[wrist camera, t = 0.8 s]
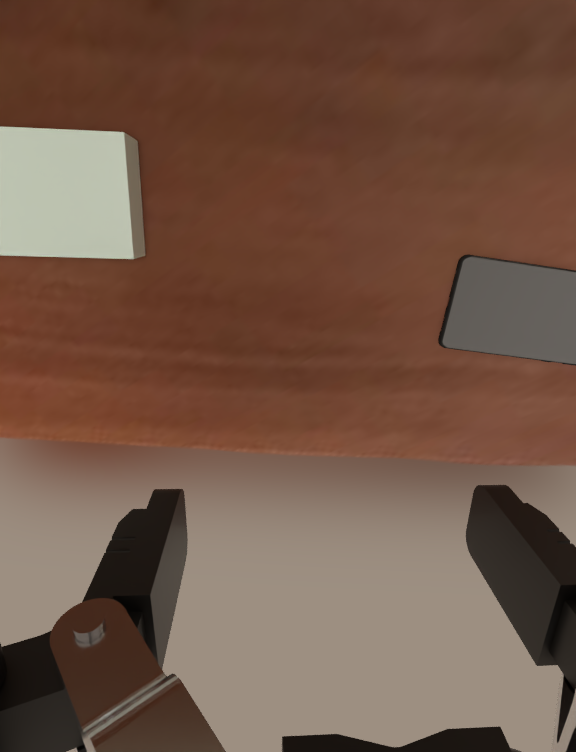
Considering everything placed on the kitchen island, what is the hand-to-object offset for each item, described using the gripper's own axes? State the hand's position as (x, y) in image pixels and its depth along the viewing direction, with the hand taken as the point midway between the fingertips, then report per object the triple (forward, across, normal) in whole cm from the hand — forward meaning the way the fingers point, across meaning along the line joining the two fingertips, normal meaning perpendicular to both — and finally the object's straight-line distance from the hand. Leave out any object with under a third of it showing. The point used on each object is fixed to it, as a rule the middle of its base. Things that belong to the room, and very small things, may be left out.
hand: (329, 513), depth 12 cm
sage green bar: (+22, +18, -8) cm, 29 cm away
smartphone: (+22, -19, -1) cm, 30 cm away
